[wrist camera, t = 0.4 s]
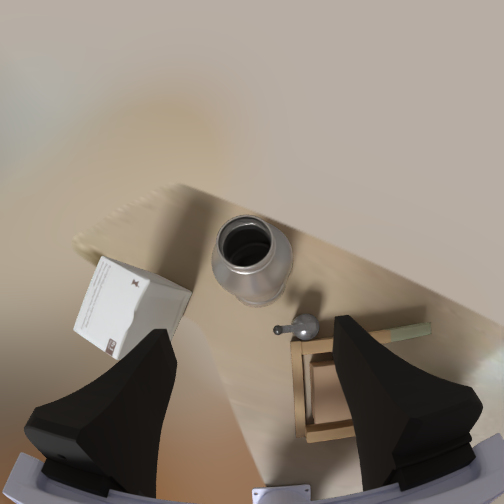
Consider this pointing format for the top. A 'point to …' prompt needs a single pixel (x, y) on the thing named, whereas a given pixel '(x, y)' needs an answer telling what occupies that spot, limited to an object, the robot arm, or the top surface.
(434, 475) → the robot arm
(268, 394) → the top surface
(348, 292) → the top surface
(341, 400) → the box
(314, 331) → the crank handle cylinder
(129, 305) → the skincare box
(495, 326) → the top surface
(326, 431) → the bay
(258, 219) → the silver metal bottle
